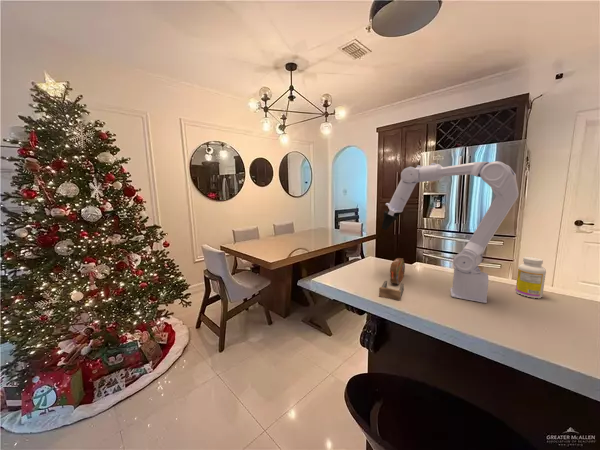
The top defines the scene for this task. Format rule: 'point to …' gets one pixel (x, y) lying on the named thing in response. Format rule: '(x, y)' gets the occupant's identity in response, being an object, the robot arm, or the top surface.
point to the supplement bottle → (531, 277)
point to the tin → (397, 270)
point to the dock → (390, 292)
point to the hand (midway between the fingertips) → (385, 226)
